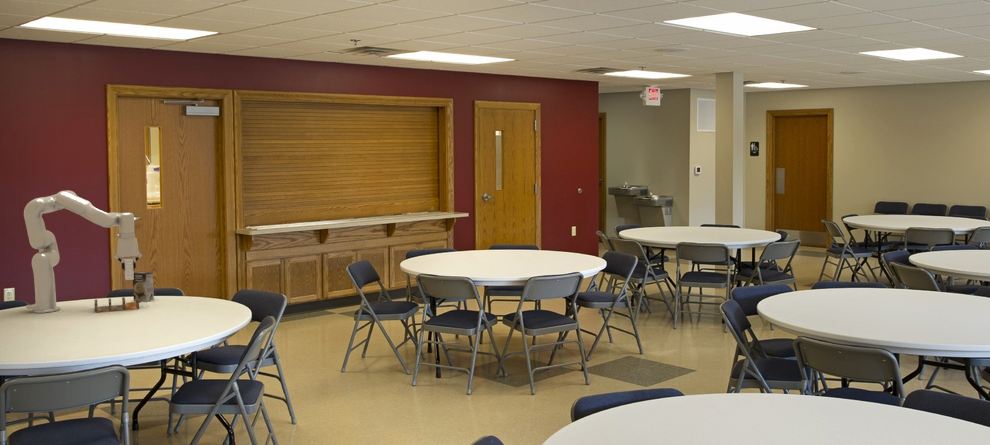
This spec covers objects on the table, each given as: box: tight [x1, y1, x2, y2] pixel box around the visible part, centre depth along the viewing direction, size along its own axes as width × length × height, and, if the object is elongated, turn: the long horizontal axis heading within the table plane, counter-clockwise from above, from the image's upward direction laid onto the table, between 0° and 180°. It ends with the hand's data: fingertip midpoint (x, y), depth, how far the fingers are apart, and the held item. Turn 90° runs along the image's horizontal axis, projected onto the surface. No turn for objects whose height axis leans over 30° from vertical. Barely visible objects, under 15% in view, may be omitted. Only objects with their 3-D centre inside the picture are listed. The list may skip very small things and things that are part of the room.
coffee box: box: [132, 271, 155, 303], centre depth 469 cm, size 9×6×16 cm
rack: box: [94, 296, 140, 314], centre depth 445 cm, size 21×15×5 cm
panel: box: [124, 258, 135, 281], centre depth 447 cm, size 4×11×10 cm, turn 25°
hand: (129, 269), depth 447 cm, fingers closed on panel, 4 cm apart
